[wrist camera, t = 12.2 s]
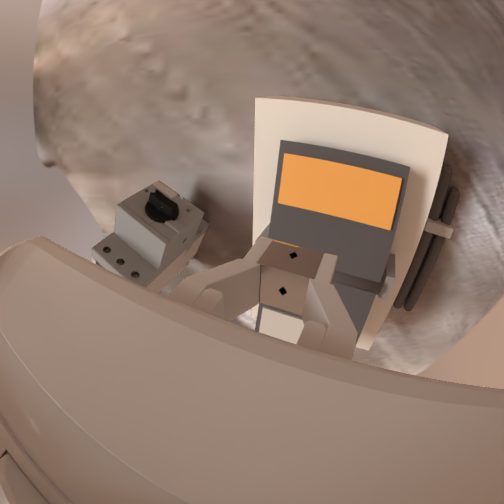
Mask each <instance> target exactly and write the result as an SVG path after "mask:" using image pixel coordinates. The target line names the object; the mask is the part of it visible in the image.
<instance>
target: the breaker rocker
mask: <svg viewBox="0 0 504 504" xmlns="http://www.w3.org/2000/svg"><path fill="white" fill-rule="evenodd" d="M409 171H410V167H409V166H406V165H402V164H399V163H395V162H391V161H388V160H384V159H380V158H376V157H372V156H367V155H363V154H359V153H354V152H350V151H345V150H340V149H335V148H330V147H324V146H319V145H313V144H307V143H301V142H294V141H287V140H280V148H279V157H278V165H277V173H276V181H275V189H274V197H273V204H272V212H271V220H270V227H269V235H268V238H270V239H273V240H277V241H281V242H284V243H288V244H292V245H295V246H299V247H301V248H306V249H310V250H314V251H318V252H322V253H327V254H332V255H336V256H338V259H337V263H336V267H335V271H334V275H333V279H332V282H331V284H332V285H334V286H335V288H336V290H337V292H338V294H339V296H340V298H341V300H342V302H343V304H344V306H345V308H346V310H347V312H348V314H349V316H350V318H351V320H352V322H353V324H354V326H355V328H356V330H357V333H358V334H357V339H356V343H355V346H356V344H357V341H358V339H359V337H360V334H361V332H362V329H363V327H364V325H365V322H366V320H367V317H368V315H369V312H370V309H371V307H372V304H373V301H374V299H375V296H376V295H378V294H379V292H380V290H381V287H382V283H383V273H384V270H385V266H386V263H387V260H388V257H389V254H390V250H391V247H392V243H393V240H394V236H395V233H396V229H397V225H398V221H399V217H400V213H401V209H402V205H403V200H404V196H405V191H406V186H407V181H408V176H409ZM303 328H304V323H303V319H302V316H301V315H298V314H295V313H292V312H289V311H286V310H283V309H280V308H276V307H273V306H269V305H266V304H263V303H259V307H258V314H257V321H256V327H255V331H257V332H260V333H263V334H266V335H269V336H272V337H275V338H278V339H281V340H284V341H287V342H290V343H293V344H297V342H298V339H299V337H300V335H301V332H302V330H303Z"/></svg>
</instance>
